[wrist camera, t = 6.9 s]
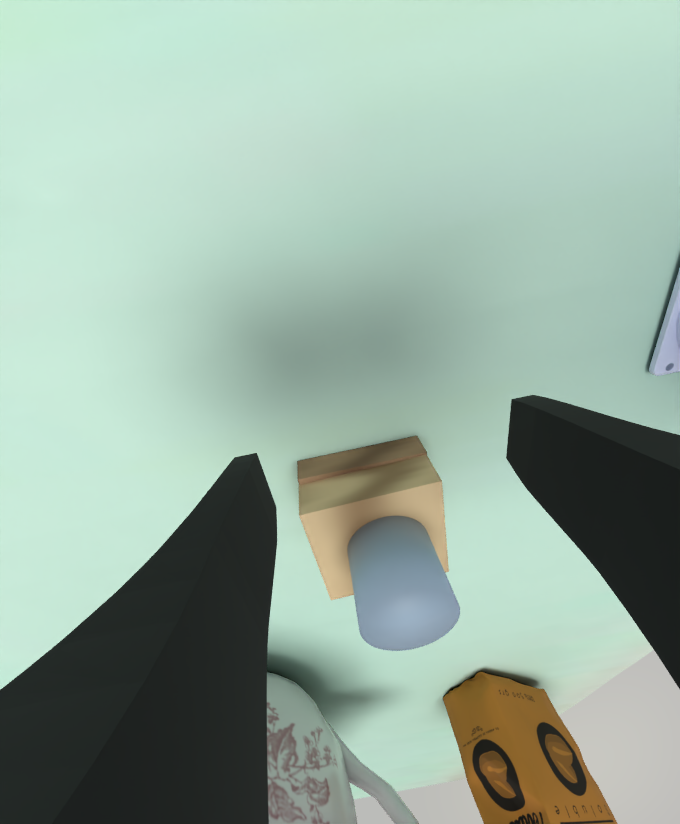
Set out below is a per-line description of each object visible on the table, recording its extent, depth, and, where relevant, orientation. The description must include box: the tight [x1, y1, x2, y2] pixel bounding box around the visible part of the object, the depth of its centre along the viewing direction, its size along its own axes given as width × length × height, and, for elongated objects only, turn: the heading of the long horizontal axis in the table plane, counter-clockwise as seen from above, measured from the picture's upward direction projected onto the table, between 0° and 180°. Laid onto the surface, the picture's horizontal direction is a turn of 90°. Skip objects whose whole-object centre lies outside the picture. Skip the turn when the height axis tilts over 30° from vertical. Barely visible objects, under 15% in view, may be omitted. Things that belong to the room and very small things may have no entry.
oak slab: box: [299, 454, 449, 600], centre depth 21 cm, size 8×8×2 cm
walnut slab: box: [297, 436, 427, 485], centre depth 24 cm, size 8×8×2 cm
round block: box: [347, 516, 460, 651], centre depth 18 cm, size 5×5×4 cm
